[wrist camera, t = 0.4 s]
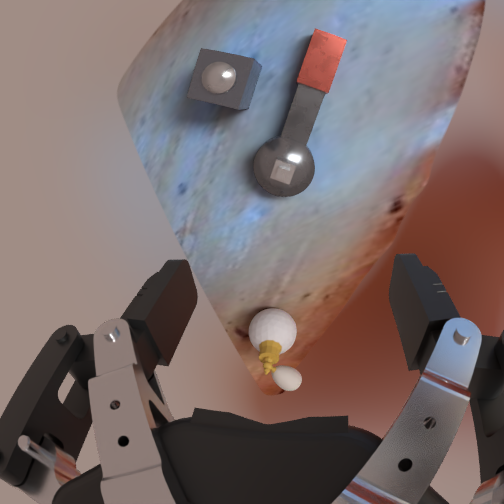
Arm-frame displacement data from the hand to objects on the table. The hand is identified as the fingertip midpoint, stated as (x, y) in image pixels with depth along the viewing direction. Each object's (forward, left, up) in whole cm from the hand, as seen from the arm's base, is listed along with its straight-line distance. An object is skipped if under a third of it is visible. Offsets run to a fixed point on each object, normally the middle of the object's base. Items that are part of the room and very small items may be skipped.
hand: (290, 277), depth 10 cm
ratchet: (-5, -1, -25) cm, 26 cm away
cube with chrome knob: (-6, -10, -25) cm, 28 cm away
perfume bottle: (+26, +7, -26) cm, 37 cm away
